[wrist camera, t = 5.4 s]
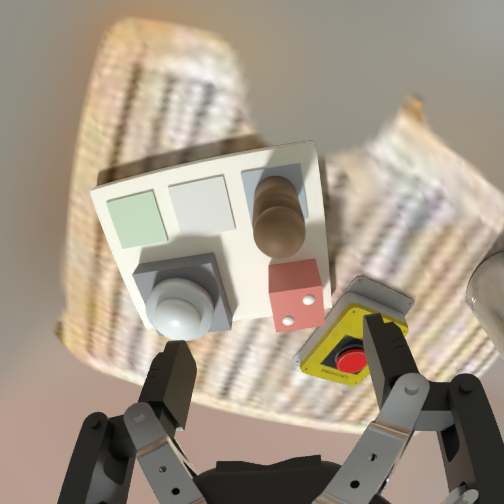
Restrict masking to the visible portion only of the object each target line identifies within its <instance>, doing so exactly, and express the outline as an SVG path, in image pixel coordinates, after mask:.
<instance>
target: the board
mask: <svg viewBox="0 0 504 504" xmlns="http://www.w3.org/2000/svg"><path fill="white" fill-rule="evenodd" d="M270 176H281V177H284V178H286V179H288V180H289V181H290V182H291V183H292V184H293V185H294V187H295V190H296V193H297V196H298V199H299V202H300V206H301V209H302V212H303V216H304V219H305V229H306V236H305V241H304V243H303V245H302V247H301V248H300V250H299V251H298V252H297V253H295V254H294V255H292V256H290V257H288V258H284V259H275V258H271V257H269V256H267V255H265V254H264V253H262V252H261V251H260V250H259V248H258V247H257V245H256V243H255V241H254V237H253V229H252V218H253V204H254V192H255V189H256V187H257V185H258V184H259V183H260V182H261V181H262V180H263V179H265V178H267V177H270ZM90 194H91V197H92V200H93V203H94V206H95V209H96V212H97V214H98V217H99V220H100V222H101V225H102V228H103V230H104V233H105V236H106V238H107V241H108V243H109V246H110V248H111V251H112V253H113V256H114V258H115V261H116V263H117V265H118V268H119V270H120V273H121V275H122V277H123V280H124V282H125V284H126V286H127V289H128V291H129V293H130V295H131V297H132V300H133V302H134V304H135V306H136V308H137V310H138V313H139V315H140V317H141V319H142V321H143V323H144V325H145V327H146V329H150V328H154V327H153V326H152V325H151V323H150V322H149V320H148V318H147V315H146V309H145V308H146V303H147V300H148V298H149V296H150V294H151V292H152V290H153V288H154V287H155V286H156V285H157V284H158V283H159V282H161V281H163V280H166V279H170V278H182V279H187V280H190V281H193V282H195V283H197V284H198V285H200V286H201V287H203V288H204V289H205V290H206V291H207V292H208V294H209V295H210V297H211V298H212V301H213V304H214V314H213V319H212V323H211V327H210V329H209V330H208V332H215V331H225V330H231V326H232V321H236V320H245V319H254V318H262V317H270V316H273V313H272V308H271V303H270V298H269V289H268V265H274V264H281V263H288V262H294V261H301V260H308V259H314V258H315V259H316V263H317V267H318V271H319V275H320V279H321V283H322V288H323V301H324V309H326V308H332V302H331V286H330V272H329V259H328V248H327V237H326V226H325V216H324V207H323V198H322V190H321V181H320V173H319V166H318V158H317V151H316V144H315V142H314V141H313V140H310V141H303V142H297V143H289V144H283V145H276V146H270V147H264V148H258V149H252V150H247V151H241V152H236V153H231V154H226V155H220V156H216V157H211V158H206V159H201V160H197V161H192V162H187V163H183V164H179V165H174V166H170V167H166V168H162V169H158V170H154V171H150V172H146V173H142V174H138V175H134V176H131V177H127V178H123V179H120V180H116V181H113V182H109V183H106V184H102V185H99V186H96V187H95V188H93V189H92V190H90ZM157 332H158V334H159V336H164V335H163V334H161V333H160V332H159V331H157Z"/></svg>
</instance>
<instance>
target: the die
mask: <svg viewBox="0 0 504 504" xmlns="http://www.w3.org/2000/svg"><path fill="white" fill-rule="evenodd" d="M268 289H269V298H270V303H271V308H272V313H273V318H274V323H275V328H276V332H283V331H291V330H298V329H305V328H312V327H319V326H325V314H324V301H323V288H322V283H321V279H320V275H319V271H318V267H317V263H316V259H315V258H314V259H308V260H301V261H294V262H288V263H281V264H274V265H268Z"/></svg>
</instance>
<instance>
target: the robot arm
mask: <svg viewBox="0 0 504 504" xmlns="http://www.w3.org/2000/svg"><path fill="white" fill-rule="evenodd" d="M466 302H467V304H468V306H469V308H470V309H471V311H472V312H473V313H474V315H475V316H476V318H477V319H478V321H479V322H480V324H481V325H482V327H483V328H484V330H485V332H486V333H487V335H488V336H489V338H490V339H491V341H492V342H493V344H494V346H495V347H496V349H497V350H498V352H499V354H500V355H501V357H502V359H503V360H504V252H501V253H497V254H495V255H493V256H491V257H490V258H488V259H487V260H485V261H484V262H483V263H482V264H481V265H480V266H479V268H478V269H477V270H476V271H475V273H474V274H473V276H472V278H471V280H470V282H469V284H468V288H467V292H466ZM363 347H364V353H365V356H366V360H367V363H368V367H369V371H370V374H371V378H372V382H373V386H374V390H375V394H376V397H377V401H378V405H379V410H380V412H379V414H378V416H377V418H376V419H375V420H374V421H372V422H371V423H370V424H369V425H368V427H367V428H366V430H365V431H364V433H363V435H362V436H361V438H360V439H359V441H358V443H357V444H356V446H355V447H354V449H353V450H352V452H351V453H350V455H349V456H348V458H347V459H346V461H345V462H344V464H343V465H339V464H336V463H333V462H329V461H321V455H313V456H305V457H296V458H292V459H288V460H285V461H282V462H279V463H276V464H272V465H267V466H266V465H260V464H254V463H249V462H244V461H217V463H216V468H213V469H210V470H207V471H205V472H203V473H201V474H199V473H198V472H197V470H196V469H195V468H194V466H193V465H192V464H191V462H190V460H189V459H188V457H187V456H186V454H185V453H184V451H183V450H182V448H181V446H180V445H179V443H178V442H177V440H176V438H175V437H174V435H175V431H184V429H185V425H186V420H187V415H188V410H189V406H190V402H191V397H192V392H193V388H194V383H195V379H196V374H197V367H196V363H195V360H194V358H193V356H192V354H191V352H190V350H189V348H188V346H187V344H186V342H185V341H184V340H175V341H168V342H167V343H166V346H165V349H164V352H159V353H158V355H157V356H156V357H155V358H154V359H153V361H152V363H151V366H150V371H149V372H148V374H147V378H146V380H145V383H144V386H143V388H142V391H141V394H140V397H139V400H138V403H135V404H133V405H131V406H130V407H128V409H127V410H126V411H125V413H124V415H120V416H116V417H112V418H108V417H107V416H106V415H105V414H104V413H102V412H95V413H92V414H91V415H89V416H88V417H87V418H86V419H85V420H84V422H83V425H82V428H81V430H80V433H79V436H78V439H77V442H76V445H75V448H74V451H73V454H72V457H71V460H70V463H69V466H68V469H67V472H66V476H65V479H64V482H63V485H62V489H61V492H60V496H59V499H58V503H57V504H126V503H127V497H128V492H129V487H130V482H131V477H132V473H133V468H134V463H135V459H136V458H137V460H138V462H139V464H140V466H141V468H142V470H143V472H144V474H145V476H146V478H147V480H148V482H149V484H150V486H151V488H152V490H153V492H154V494H155V495H156V497H157V499H158V501H159V503H160V504H391V503H390V502H389V501H387V500H386V499H385V498H383V497H382V496H381V493H382V492H383V490H384V489H385V487H386V485H387V484H388V482H389V480H390V478H391V477H392V475H393V473H394V471H395V469H396V467H397V465H398V463H399V461H400V459H401V458H402V455H403V454H404V452H405V450H406V448H407V446H408V444H409V442H410V440H411V438H412V436H413V434H414V432H415V431H436V432H437V436H438V440H439V444H440V449H441V453H442V458H443V462H444V467H445V472H446V477H447V482H448V488H449V495H448V496H447V497H446V498H445V499H444V500H443V501H441V503H440V504H504V443H503V441H502V438H501V434H500V431H499V429H498V426H497V423H496V420H495V417H494V414H493V412H492V409H491V406H490V404H489V402H488V399H487V396H486V394H485V391H484V389H483V386H482V384H481V382H480V380H479V379H478V378H477V377H476V376H474V375H472V374H468V373H463V374H459V375H457V376H455V377H454V378H453V379H452V381H451V382H432V381H429V380H427V379H426V378H425V377H424V376H423V375H421V374H420V373H419V371H418V369H417V366H416V364H415V361H414V359H413V356H412V354H411V351H410V349H409V346H408V344H407V342H406V339H405V338H404V335H403V332H402V330H401V328H400V327H399V326H398V325H396V324H395V323H394V322H393V321H392V322H387V323H384V321H383V318H382V316H381V313H380V312H377V313H372V314H367V315H363Z"/></svg>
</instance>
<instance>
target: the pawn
mask: <svg viewBox="0 0 504 504" xmlns="http://www.w3.org/2000/svg"><path fill="white" fill-rule="evenodd" d="M252 229H253V237H254V241H255V243H256V245H257V247H258V248H259V250H260V251H261V252H262V253H264V254H265V255H267V256H269V257H271V258H275V259H284V258H288V257H290V256H292V255H294V254H295V253H297V252H298V251H299V250H300V248H301V247H302V245H303V243H304V241H305V236H306V229H305V219H304V216H303V212H302V209H301V206H300V202H299V199H298V196H297V193H296V190H295V187H294V185H293V184H292V183H291V182H290V181H289V180H288V179H286V178H284V177H281V176H270V177H267V178H265V179H263V180H262V181H261V182H260V183H259V184H258V185H257V187H256V189H255V192H254V204H253V218H252Z"/></svg>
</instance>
